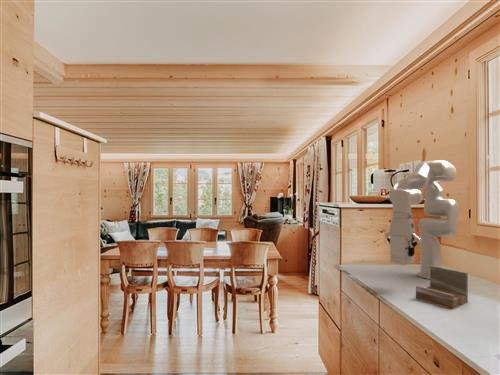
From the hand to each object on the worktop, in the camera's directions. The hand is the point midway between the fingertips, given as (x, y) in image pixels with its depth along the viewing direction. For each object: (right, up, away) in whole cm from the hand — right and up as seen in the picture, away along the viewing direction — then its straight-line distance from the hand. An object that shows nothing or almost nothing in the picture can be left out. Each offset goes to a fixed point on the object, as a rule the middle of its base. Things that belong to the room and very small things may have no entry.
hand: (402, 254), depth 140 cm
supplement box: (0, -4, 0) cm, 4 cm away
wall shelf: (+10, -16, -13) cm, 23 cm away
